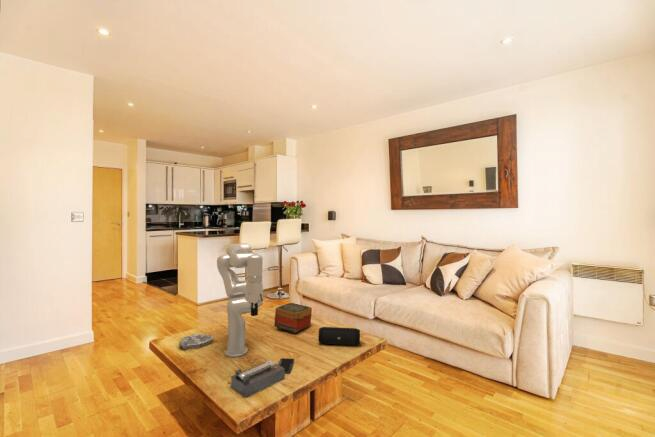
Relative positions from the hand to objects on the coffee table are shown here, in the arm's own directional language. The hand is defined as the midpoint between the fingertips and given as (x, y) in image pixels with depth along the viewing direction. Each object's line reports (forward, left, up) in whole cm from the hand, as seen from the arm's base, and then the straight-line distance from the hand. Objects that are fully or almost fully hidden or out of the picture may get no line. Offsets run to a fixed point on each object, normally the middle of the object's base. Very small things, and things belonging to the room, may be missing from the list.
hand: (254, 315), depth 155 cm
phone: (+7, +15, -30) cm, 34 cm away
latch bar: (+10, -5, -24) cm, 26 cm away
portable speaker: (+9, +57, -30) cm, 65 cm away
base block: (+10, -4, -29) cm, 31 cm away
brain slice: (-55, -5, -30) cm, 63 cm away
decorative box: (-31, +54, -29) cm, 69 cm away
